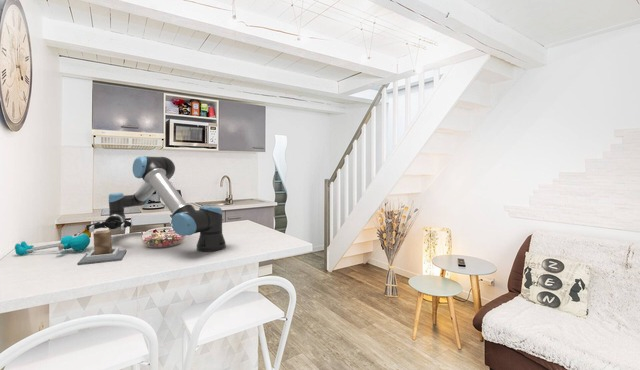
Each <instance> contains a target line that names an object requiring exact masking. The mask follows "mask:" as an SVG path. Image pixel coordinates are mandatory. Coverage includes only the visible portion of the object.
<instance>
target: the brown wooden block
mask: <svg viewBox="0 0 640 370" xmlns="http://www.w3.org/2000/svg"><path fill="white" fill-rule="evenodd" d="M93 247H94V248H93V250H94V255H103V254H112V248H113V243H112V229H107V230H96V231H95V232H93Z"/></svg>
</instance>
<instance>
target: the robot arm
mask: <svg viewBox="0 0 640 370" xmlns="http://www.w3.org/2000/svg"><path fill="white" fill-rule="evenodd" d="M175 165H176V164H175V163H174V162H173V160H172V159H170V158H168V157H166V156H149V155H148V156H145V155H142V156H137V157H136V158H135V159H134V161H133V163H132V174H133V176H134V177H135V178H137V179H142V180H143V182H144V183H143V184H142V186H140V188H139V189H137V191H136V192H135V193H134V194H130V195H129V194H125V195H124V193H123V192H114V193H113V192H112V193H109V194H108V207H109V210H108V211H109V214H108V215H109V216H108V217H107V218H106V219H105V221H102V222H100V221H96V222H93V223H91V224H86V225H85V227H86V231H89V234H91V233H94V231H95V230H97V229H107V228H108V230H116V229H118V228H120V230H121V231H124V230H125V229H126V228H131V227H132V221H128V220H127V219H126V215H125V209H126V208H134V207H142V206H145V205H147V204H148V202H149V198H150V197H151V196H152V195H153V193H155V192H156V194H157V195H158V197H160V199H161V201H162V202H163V203H164V205H165V206H166V207H167V209H168V210H169V211H170V213H171V216H170V217H171V220H170V225H171V227H172V230H173V231H174V232H175V234H177V235H178V236H183V237H184V236H185V237H186V236H191V235H194V234H199V236H198V240H197V243H196V250H197V251H200V252H216V251H220V250H224V249H225V248H226V246H227V245H226V240H225V237H224V234H223V210H222V208H221V207H220V206H210V205H209V206H208V205H207V206H206V205H204V206H203V205H201V206H199V209H195V207H194V206H193V205H192V204H188V203H187V202H186V200H185V199H184V198H183V196H182V195H181V193H179V191H178V190H177V189H176V187H175V186H174V185H173V184H172V182H171V181H170V179H171V178H173V176H174V174H175V171H176V166H175Z"/></svg>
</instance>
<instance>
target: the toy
mask: <svg viewBox="0 0 640 370" xmlns="http://www.w3.org/2000/svg"><path fill="white" fill-rule="evenodd" d="M90 243H91V238H90V236H89V235H88V234H86V233H83V232H80V231H79V232H77V233H74V234H73V235H66V236H63V237H62V238H61V240H60V242H56V243H50V244H44V245H39V246H35V245H31V244H30V245H28V243H27V242H26V241H20V243H19V242H18V243H16V244H15V245H14V250H15V253H16V255H17V256H18V255H21V256H24V255H29V253H31V252H35V251H40V250H41V251H42V250H46V249H51V248H52V249H53V248H57V250H58V251H62V250H70V249H71V250H73V251H75V252H83V251H84V250H86V249H87V247H89V245H90Z"/></svg>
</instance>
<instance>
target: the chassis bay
mask: <svg viewBox="0 0 640 370" xmlns="http://www.w3.org/2000/svg"><path fill="white" fill-rule="evenodd" d="M126 253H127V250H126V249H123V250H120V247H112V254H103V255H94V249H91V251H89V252H88V253H86V254H84V255H83V257H81V259H80V260H78V261H77V266H82V265H91V264H100V263H110V262H111V263H112V262H118V261H120V262H121V261H122V260H123V258H124V257H125V255H126Z"/></svg>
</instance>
